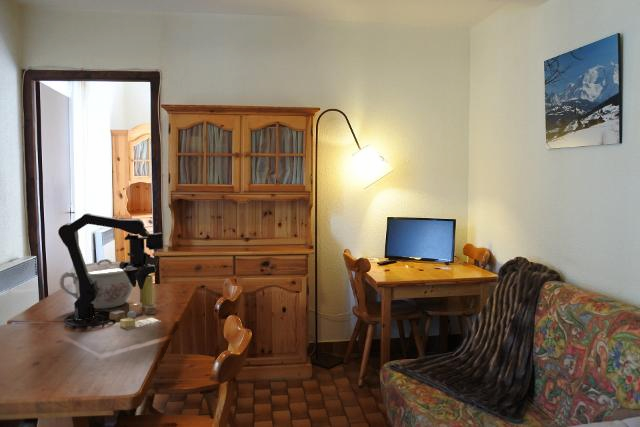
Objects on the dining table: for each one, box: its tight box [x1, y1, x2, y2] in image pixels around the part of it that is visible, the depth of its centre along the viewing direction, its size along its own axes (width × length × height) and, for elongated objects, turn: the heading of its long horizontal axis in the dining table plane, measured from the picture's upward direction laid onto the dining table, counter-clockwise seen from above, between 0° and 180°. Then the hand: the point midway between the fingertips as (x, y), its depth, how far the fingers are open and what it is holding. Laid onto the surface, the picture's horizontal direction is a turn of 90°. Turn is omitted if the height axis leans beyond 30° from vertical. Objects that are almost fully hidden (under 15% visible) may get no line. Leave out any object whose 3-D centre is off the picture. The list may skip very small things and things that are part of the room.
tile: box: [119, 317, 136, 330], centre depth 188 cm, size 4×4×2 cm
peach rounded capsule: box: [128, 301, 143, 316], centre depth 205 cm, size 5×5×5 cm
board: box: [118, 317, 161, 331], centre depth 192 cm, size 14×7×1 cm, turn 139°
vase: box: [139, 274, 155, 308], centre depth 216 cm, size 6×6×14 cm
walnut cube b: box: [143, 304, 157, 316], centre depth 206 cm, size 4×4×4 cm
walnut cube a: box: [108, 309, 126, 322], centre depth 197 cm, size 4×4×4 cm
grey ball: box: [126, 311, 137, 319], centre depth 200 cm, size 4×4×4 cm
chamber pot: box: [59, 258, 134, 310], centre depth 220 cm, size 28×28×21 cm
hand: (137, 287), depth 203 cm, fingers open, 5 cm apart
